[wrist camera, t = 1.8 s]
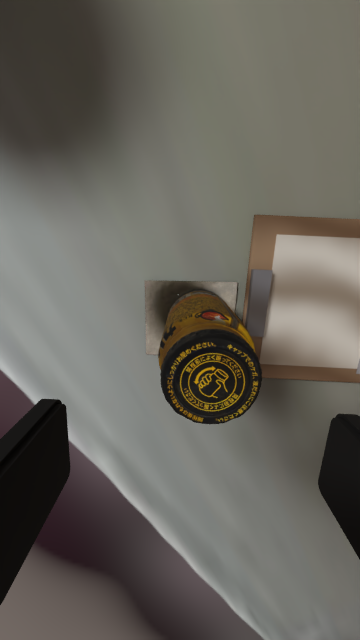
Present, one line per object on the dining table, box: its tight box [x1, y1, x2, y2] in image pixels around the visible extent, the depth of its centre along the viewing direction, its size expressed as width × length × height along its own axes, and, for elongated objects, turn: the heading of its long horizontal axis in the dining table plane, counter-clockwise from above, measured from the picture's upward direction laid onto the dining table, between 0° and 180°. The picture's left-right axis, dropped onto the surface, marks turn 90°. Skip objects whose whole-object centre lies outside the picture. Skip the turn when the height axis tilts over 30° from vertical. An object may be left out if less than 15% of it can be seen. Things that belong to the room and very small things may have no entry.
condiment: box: [145, 281, 262, 424], centre depth 18 cm, size 7×8×12 cm
